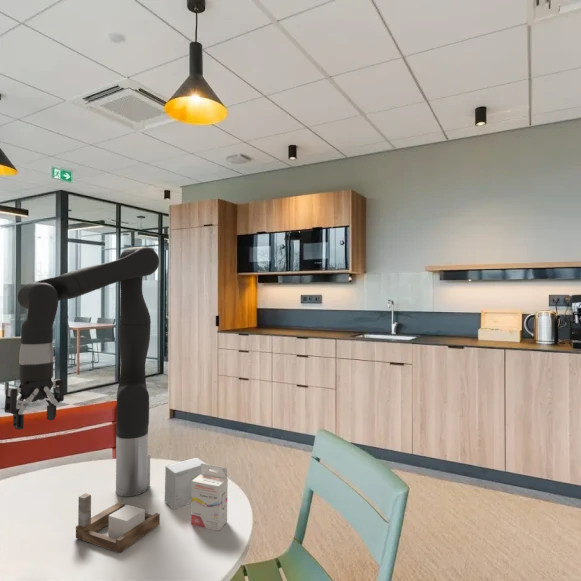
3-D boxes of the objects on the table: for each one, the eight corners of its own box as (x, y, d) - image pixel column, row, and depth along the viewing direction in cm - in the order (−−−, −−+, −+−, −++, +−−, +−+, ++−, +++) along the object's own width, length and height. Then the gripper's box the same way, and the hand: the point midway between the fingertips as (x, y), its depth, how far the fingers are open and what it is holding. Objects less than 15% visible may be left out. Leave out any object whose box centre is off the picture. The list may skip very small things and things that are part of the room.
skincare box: (174, 510, 119) (174, 472, 119) (164, 501, 124) (164, 465, 124) (206, 498, 126) (207, 462, 126) (195, 490, 131) (196, 456, 131)
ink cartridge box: (189, 525, 111) (190, 469, 111) (199, 516, 116) (200, 462, 116) (219, 531, 108) (219, 474, 108) (228, 522, 113) (228, 466, 113)
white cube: (108, 540, 104) (108, 515, 104) (126, 527, 110) (127, 504, 110) (126, 546, 102) (126, 520, 102) (144, 533, 107) (144, 509, 107)
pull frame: (118, 512, 117) (118, 476, 117) (159, 524, 111) (159, 487, 111) (75, 537, 105) (76, 497, 105) (119, 552, 98) (120, 510, 99)
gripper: (51, 356, 116) (50, 415, 116) (-2, 363, 103) (-3, 430, 103) (71, 358, 114) (70, 418, 113) (19, 365, 100) (17, 434, 100)
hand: (35, 424), depth 108 cm, fingers open, 8 cm apart
